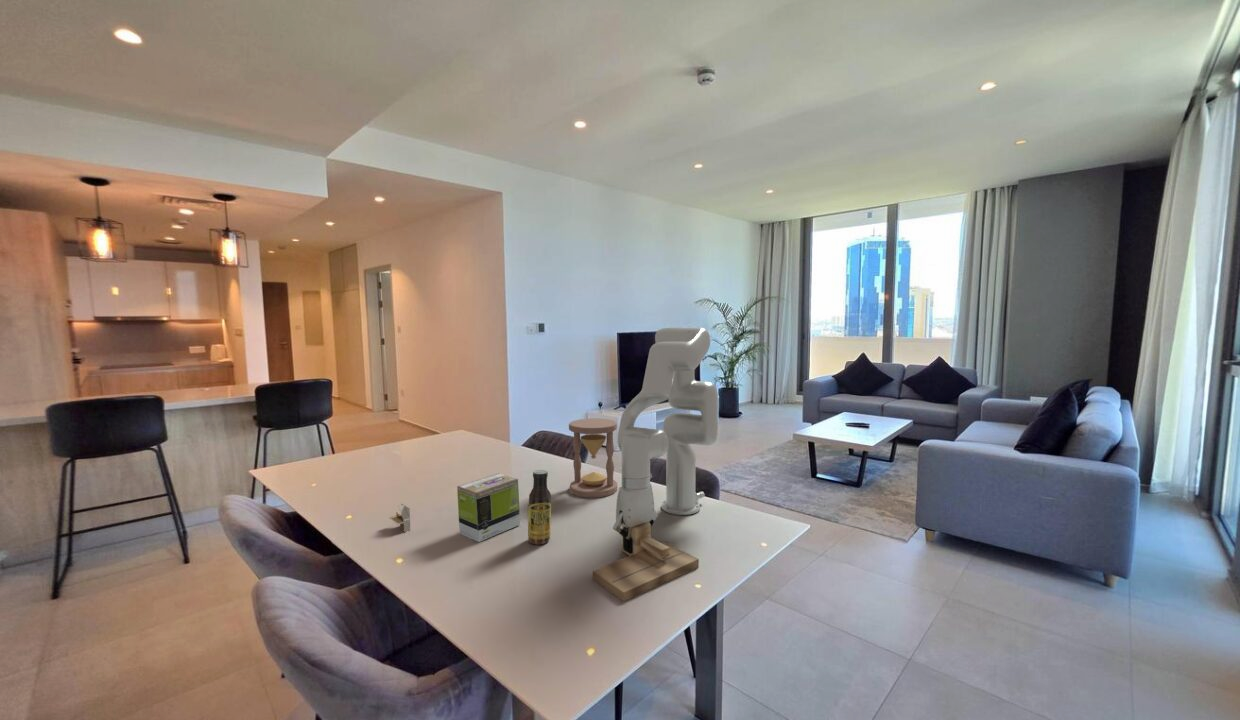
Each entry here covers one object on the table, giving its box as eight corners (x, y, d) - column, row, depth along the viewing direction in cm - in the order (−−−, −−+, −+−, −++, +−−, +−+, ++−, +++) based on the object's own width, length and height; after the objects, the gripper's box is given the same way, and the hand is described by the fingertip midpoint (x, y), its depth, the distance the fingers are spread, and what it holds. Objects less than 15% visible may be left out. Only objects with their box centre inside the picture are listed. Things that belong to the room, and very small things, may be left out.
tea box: (500, 517, 152) (499, 472, 151) (520, 526, 145) (519, 478, 144) (458, 533, 140) (456, 484, 139) (478, 543, 134) (476, 491, 133)
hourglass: (626, 486, 179) (625, 421, 178) (600, 501, 165) (599, 430, 163) (588, 479, 189) (587, 416, 187) (560, 492, 174) (558, 424, 172)
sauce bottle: (529, 547, 131) (527, 476, 130) (527, 537, 137) (525, 469, 136) (553, 544, 133) (551, 474, 131) (550, 534, 139) (548, 467, 137)
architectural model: (398, 535, 140) (398, 511, 139) (389, 529, 145) (388, 505, 144) (410, 532, 142) (409, 507, 142) (401, 525, 147) (400, 502, 147)
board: (665, 549, 129) (665, 541, 129) (698, 566, 120) (698, 558, 120) (592, 578, 115) (592, 570, 114) (623, 601, 105) (623, 592, 105)
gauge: (636, 545, 131) (636, 517, 131) (673, 566, 120) (673, 535, 119) (621, 551, 128) (621, 522, 128) (658, 572, 117) (658, 540, 116)
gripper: (650, 471, 134) (650, 534, 135) (601, 484, 124) (602, 552, 125) (669, 478, 128) (669, 544, 130) (619, 492, 118) (619, 563, 119)
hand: (636, 547), depth 127 cm, fingers closed on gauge, 5 cm apart
